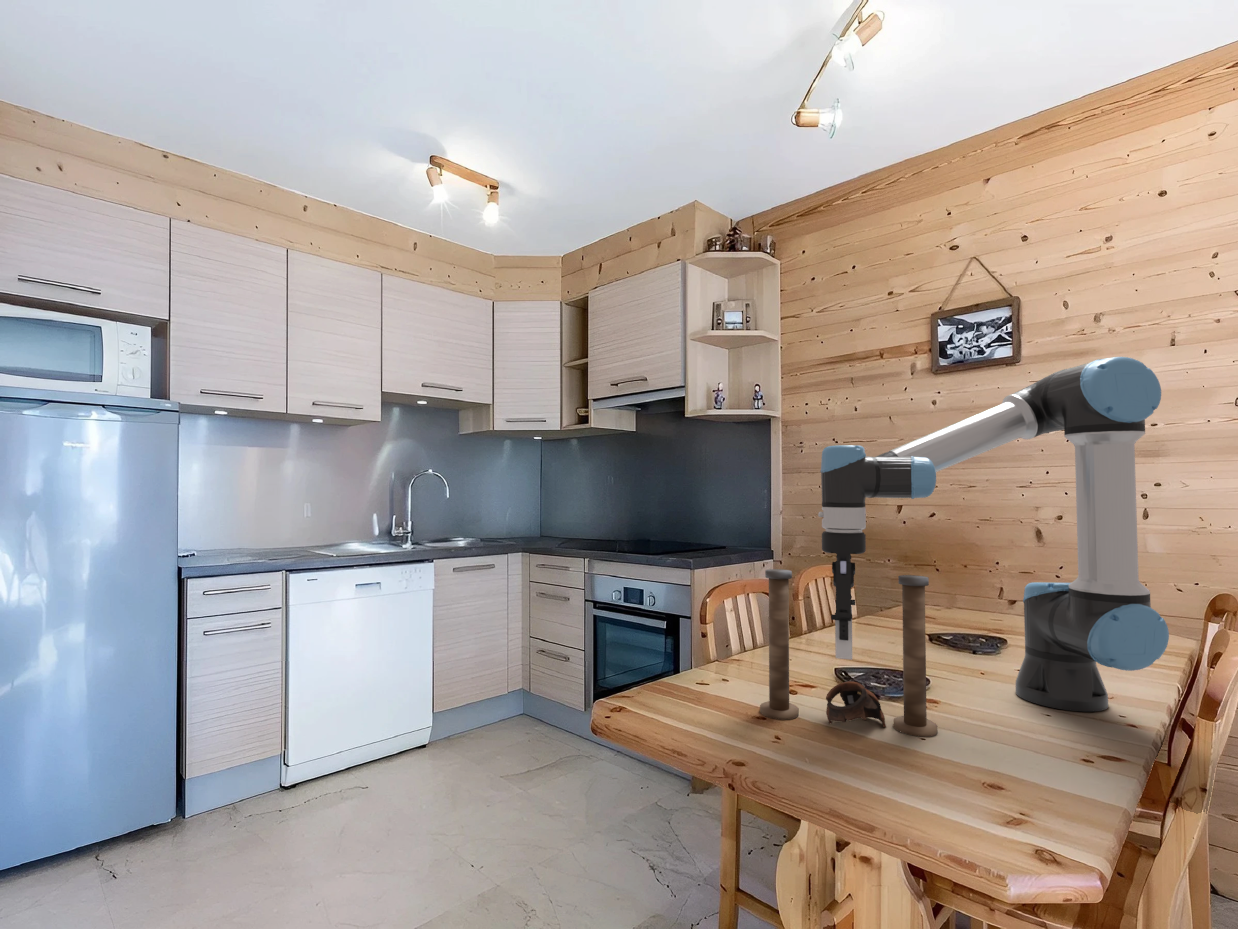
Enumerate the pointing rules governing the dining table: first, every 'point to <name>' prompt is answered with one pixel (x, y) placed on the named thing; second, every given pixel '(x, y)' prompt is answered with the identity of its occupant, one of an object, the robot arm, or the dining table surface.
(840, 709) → the broken pottery shard
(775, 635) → the post
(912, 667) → the post
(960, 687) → the dining table surface
